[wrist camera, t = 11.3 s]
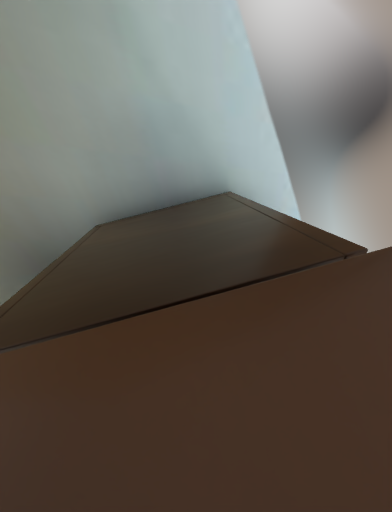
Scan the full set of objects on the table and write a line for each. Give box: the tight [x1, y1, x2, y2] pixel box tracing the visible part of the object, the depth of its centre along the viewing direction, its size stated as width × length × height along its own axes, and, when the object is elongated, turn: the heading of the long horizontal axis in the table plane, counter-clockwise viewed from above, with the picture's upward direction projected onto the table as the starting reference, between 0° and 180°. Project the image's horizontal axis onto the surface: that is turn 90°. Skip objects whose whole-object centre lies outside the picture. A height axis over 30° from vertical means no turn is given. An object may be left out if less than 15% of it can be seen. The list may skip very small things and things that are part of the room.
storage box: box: [0, 192, 368, 354], centre depth 13 cm, size 13×14×12 cm
